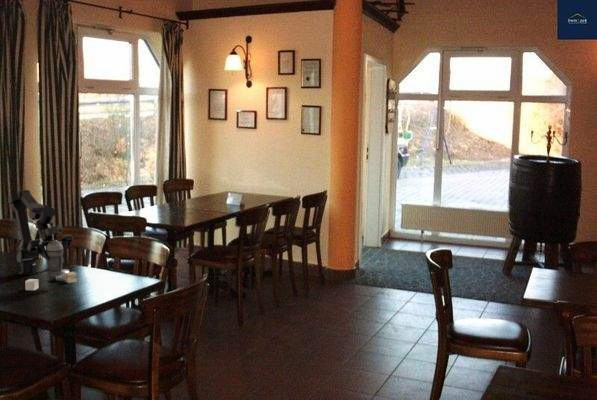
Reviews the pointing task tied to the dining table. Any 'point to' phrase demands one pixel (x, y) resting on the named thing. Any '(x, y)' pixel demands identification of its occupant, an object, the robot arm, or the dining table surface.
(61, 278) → the metal tin
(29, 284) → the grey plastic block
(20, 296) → the dining table surface
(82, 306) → the dining table surface
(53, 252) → the beverage cup
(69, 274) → the birch block
